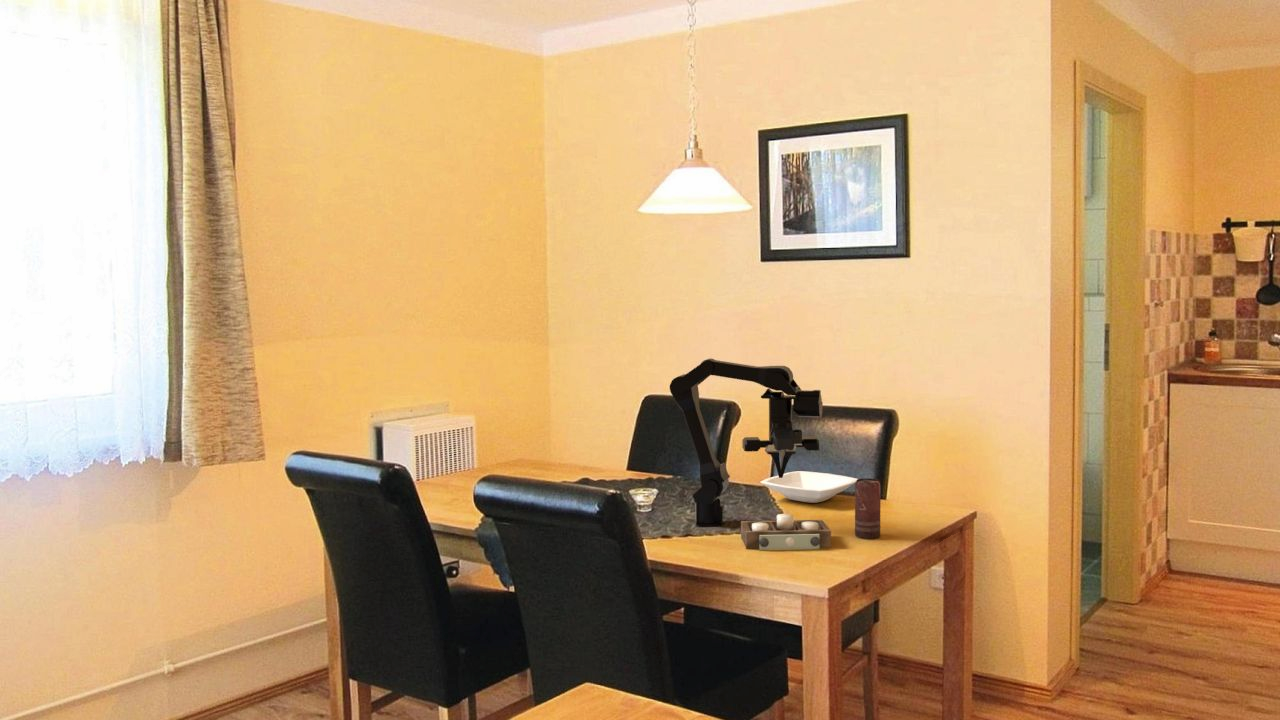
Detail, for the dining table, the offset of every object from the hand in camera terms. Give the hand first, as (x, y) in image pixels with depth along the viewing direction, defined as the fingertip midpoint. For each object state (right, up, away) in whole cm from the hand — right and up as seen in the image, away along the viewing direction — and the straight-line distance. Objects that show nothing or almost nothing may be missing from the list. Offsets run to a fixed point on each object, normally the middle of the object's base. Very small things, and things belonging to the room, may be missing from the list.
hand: (780, 477), depth 277 cm
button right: (+5, -13, -13) cm, 19 cm away
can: (+20, -14, -8) cm, 26 cm away
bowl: (+13, -10, +33) cm, 37 cm away
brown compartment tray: (-1, -14, -13) cm, 19 cm away
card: (0, -15, -19) cm, 24 cm away
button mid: (-1, -11, -13) cm, 17 cm away
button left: (-7, -13, -13) cm, 19 cm away
